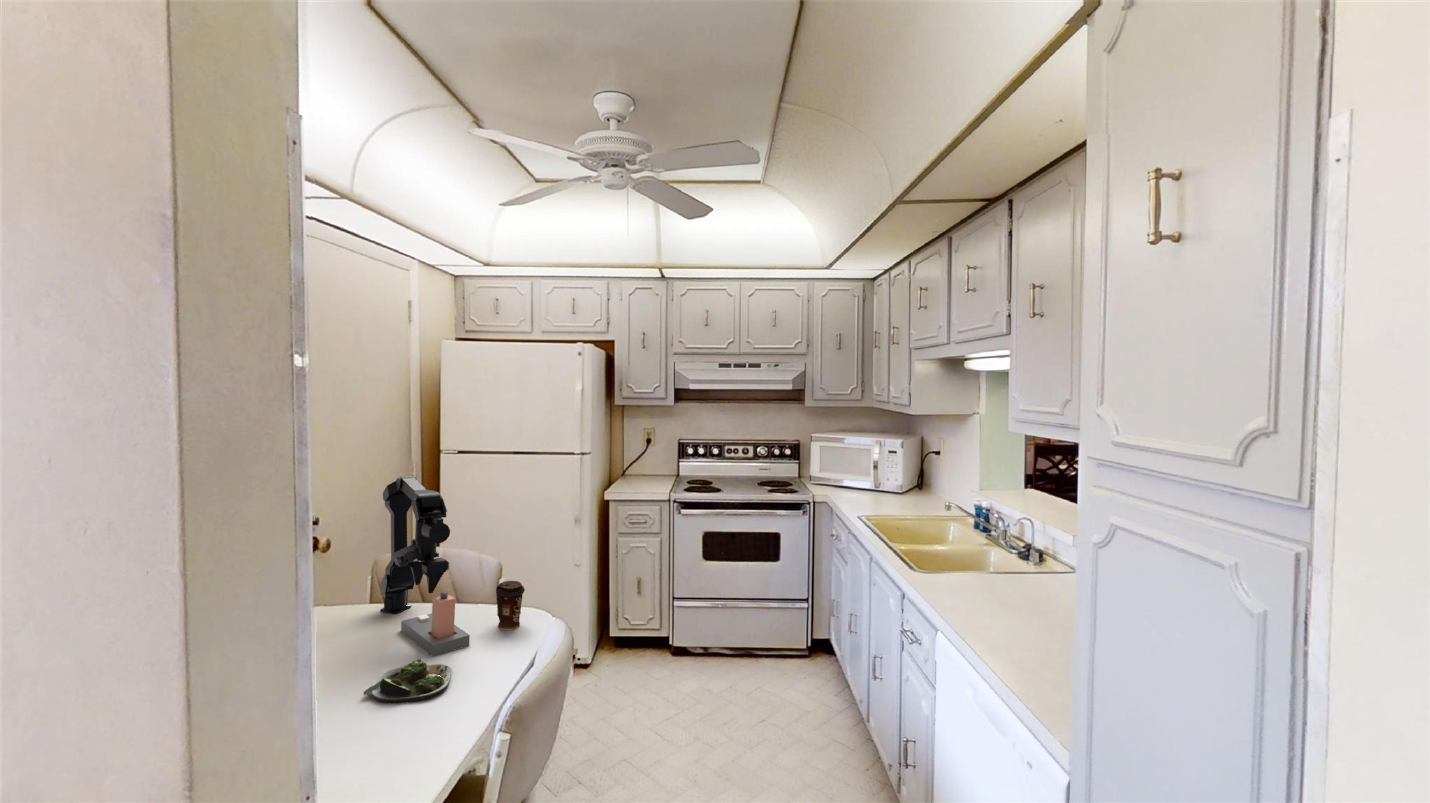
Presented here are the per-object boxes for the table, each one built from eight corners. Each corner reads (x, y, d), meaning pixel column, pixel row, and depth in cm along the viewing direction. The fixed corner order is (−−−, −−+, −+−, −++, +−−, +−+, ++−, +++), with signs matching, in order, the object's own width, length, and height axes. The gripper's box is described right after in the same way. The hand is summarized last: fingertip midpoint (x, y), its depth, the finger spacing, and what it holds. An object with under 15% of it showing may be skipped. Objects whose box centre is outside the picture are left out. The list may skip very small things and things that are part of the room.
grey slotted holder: (401, 630, 173) (401, 617, 173) (435, 621, 180) (436, 609, 180) (432, 656, 158) (433, 642, 158) (469, 645, 166) (469, 632, 166)
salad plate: (384, 667, 152) (385, 649, 151) (458, 663, 156) (459, 646, 156) (357, 708, 133) (358, 687, 133) (442, 701, 137) (443, 682, 137)
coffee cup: (487, 628, 177) (489, 585, 177) (504, 618, 185) (506, 577, 185) (512, 633, 175) (513, 590, 175) (528, 623, 183) (530, 581, 182)
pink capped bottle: (430, 643, 166) (432, 592, 165) (446, 639, 169) (448, 589, 169) (437, 648, 163) (439, 596, 162) (453, 643, 166) (455, 593, 166)
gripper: (384, 533, 172) (382, 586, 172) (409, 547, 159) (407, 604, 160) (423, 528, 180) (421, 578, 180) (450, 540, 168) (448, 595, 168)
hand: (424, 588), depth 172 cm, fingers open, 9 cm apart
